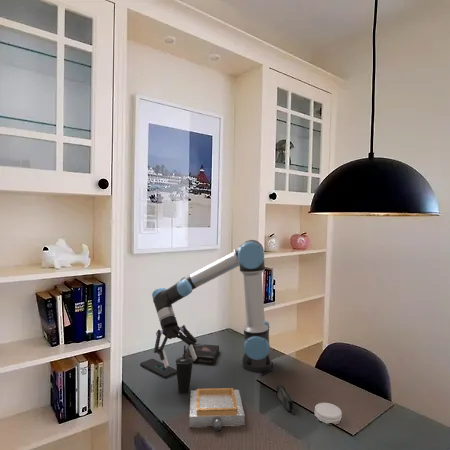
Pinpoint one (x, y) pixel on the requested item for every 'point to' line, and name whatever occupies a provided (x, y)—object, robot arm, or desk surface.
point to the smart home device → (158, 368)
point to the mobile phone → (285, 398)
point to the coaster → (328, 412)
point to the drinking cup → (184, 373)
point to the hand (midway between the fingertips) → (181, 363)
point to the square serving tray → (216, 408)
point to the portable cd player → (204, 353)
